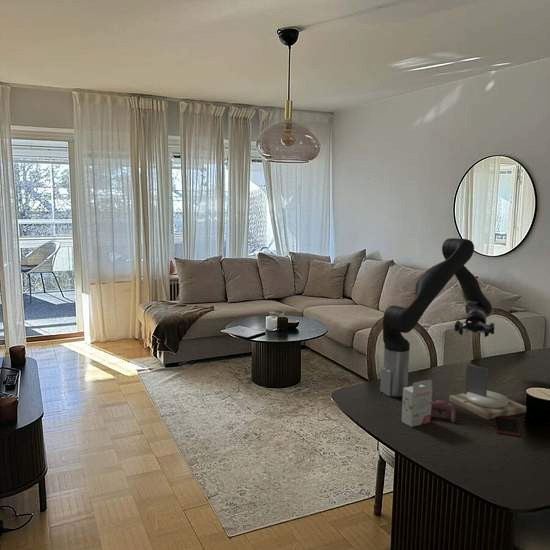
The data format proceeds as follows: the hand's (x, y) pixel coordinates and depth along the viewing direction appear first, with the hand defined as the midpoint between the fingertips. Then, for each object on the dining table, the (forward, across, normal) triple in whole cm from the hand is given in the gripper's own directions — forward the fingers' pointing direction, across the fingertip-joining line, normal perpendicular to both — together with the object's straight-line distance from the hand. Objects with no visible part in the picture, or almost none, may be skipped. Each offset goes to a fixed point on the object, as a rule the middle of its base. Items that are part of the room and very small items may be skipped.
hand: (473, 333), depth 194 cm
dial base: (+14, +6, +22) cm, 27 cm away
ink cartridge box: (+39, -15, +19) cm, 46 cm away
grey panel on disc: (+13, +6, +20) cm, 25 cm away
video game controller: (+32, -8, +20) cm, 39 cm away
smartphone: (+29, +12, +21) cm, 38 cm away
